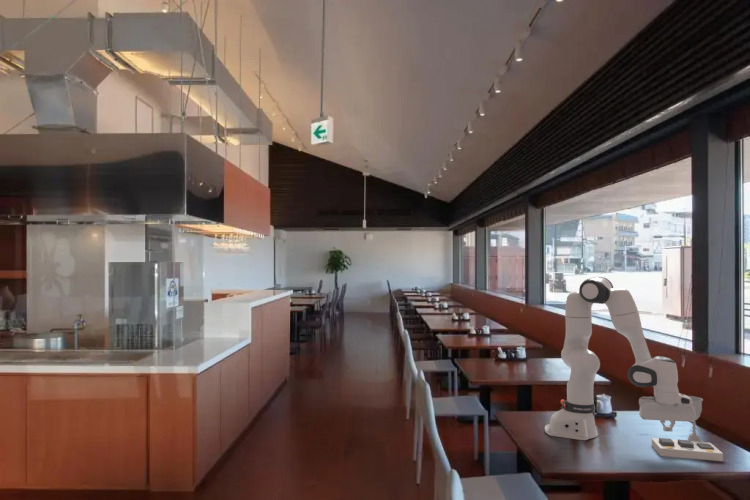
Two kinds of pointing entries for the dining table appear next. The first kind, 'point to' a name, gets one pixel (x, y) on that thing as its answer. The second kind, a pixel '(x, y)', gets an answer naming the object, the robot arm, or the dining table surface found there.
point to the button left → (666, 442)
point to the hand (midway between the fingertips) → (667, 431)
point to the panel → (687, 451)
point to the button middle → (685, 443)
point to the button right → (705, 446)
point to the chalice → (698, 408)
